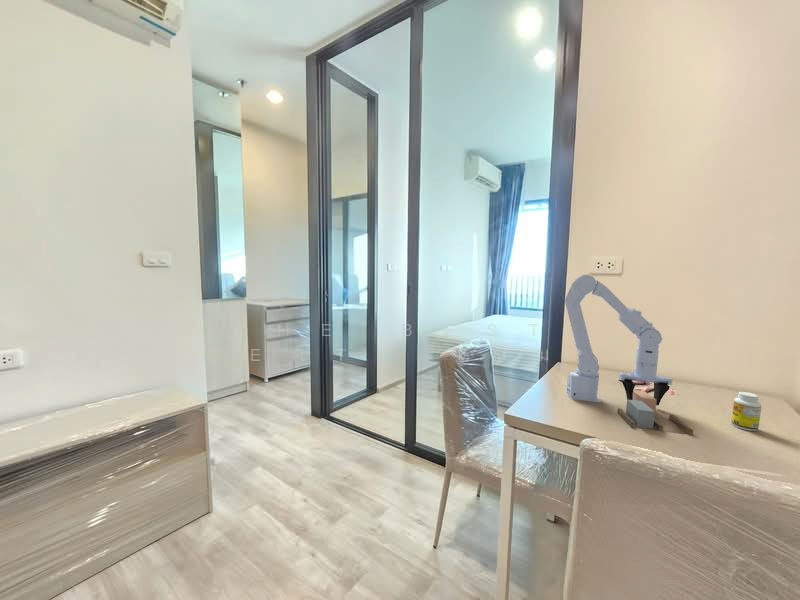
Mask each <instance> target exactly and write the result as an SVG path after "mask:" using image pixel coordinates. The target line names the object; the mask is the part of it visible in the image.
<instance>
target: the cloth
mask: <svg viewBox="0 0 800 600" xmlns="http://www.w3.org/2000/svg"><path fill="white" fill-rule="evenodd" d="M618 380H619V381H618V382H622V381H621V380H620V379H619V378H618ZM632 382H633V384H635V385H641V384H646V385H645V386H643V387H634V390H645V392H646V393H649V392H651V391H650V390H652V391H654V387H653V386H650V387H649V386H647V385H650V384H652V382H642V381H632ZM672 389H673V388H670V389H669V390H668V391H667V392H666V393H668V394H673V395H676V394H680V393H679V392H678V391H676V390H674V389H673V390H672ZM668 394H667V395H668Z"/></svg>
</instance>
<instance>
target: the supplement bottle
mask: <svg viewBox="0 0 800 600" xmlns="http://www.w3.org/2000/svg"><path fill="white" fill-rule="evenodd" d="M761 412H762V403H761V402H759V396H758V394H754V393H752V392H748V391H747V392H745V391H739V392H738V395H737V397H735V398H734V399H733V405H732V415H731V425H732V426H733V427H736V428H738V429H741V430H744V431H747V432H749V431H750V432H757V431H758V430H759V427H760V420H761Z"/></svg>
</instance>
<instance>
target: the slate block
mask: <svg viewBox="0 0 800 600" xmlns="http://www.w3.org/2000/svg"><path fill="white" fill-rule="evenodd" d="M625 413H626V414H627V415H628V416H629V417H630V418H631V419H632V420H633V421H634V422H635V425H636V426H637V427H644V428H652V429H653V425H654V417H655V415H656V411H655V412H654V411H653V410H652V409H651V408H650V407H648V406H647V405H646V404H645V403H644V402H642V401H636V400H627V399H626V409H625Z"/></svg>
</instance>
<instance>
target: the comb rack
mask: <svg viewBox="0 0 800 600" xmlns="http://www.w3.org/2000/svg"><path fill="white" fill-rule="evenodd" d="M616 413H617V414H618V416H619V417H620V418H621V419H622V420H623V421H624V423H626V424H627V425H628V426H629V427H630V428H633V429H639V430H641V429H642V430H648V431H656V432H665V433H673V434H679V435H680V434H681V435H687V436H694V429H693V428H691V427H690V426H689V425H687V424H686V423H685V422H683V421H682V420H681V419H680V418H678V416H675V415H674V414H671V413H670V414H669V417H668V418H665V417H664V418H663V417H656V416H654V425H653V429H652V428H644V427H637V426H636V425H635V422H634V421H633V420H632V419H631V418H630V417H629V416H628V415H627V414H626V411H624V410H623V408H617V411H616Z"/></svg>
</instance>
